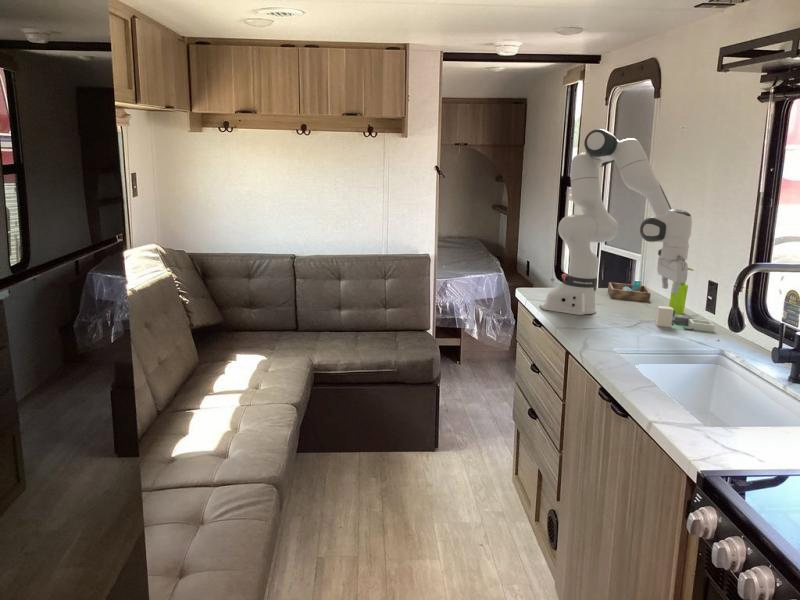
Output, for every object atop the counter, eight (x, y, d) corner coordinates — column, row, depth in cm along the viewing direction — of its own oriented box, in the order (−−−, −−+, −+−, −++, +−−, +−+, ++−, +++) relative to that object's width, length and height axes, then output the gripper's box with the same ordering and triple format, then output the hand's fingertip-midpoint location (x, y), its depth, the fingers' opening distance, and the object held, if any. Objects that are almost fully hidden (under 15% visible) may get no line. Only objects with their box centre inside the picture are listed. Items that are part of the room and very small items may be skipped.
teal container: (648, 300, 292) (650, 283, 290) (621, 298, 292) (624, 281, 290) (639, 294, 304) (642, 278, 302) (613, 293, 304) (616, 276, 302)
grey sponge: (671, 324, 245) (672, 318, 244) (667, 319, 253) (668, 313, 252) (690, 326, 243) (691, 320, 243) (686, 321, 251) (687, 315, 251)
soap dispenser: (687, 317, 263) (695, 269, 258) (669, 316, 264) (677, 268, 259) (683, 314, 268) (691, 267, 264) (666, 312, 269) (673, 265, 265)
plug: (656, 328, 243) (659, 308, 241) (654, 325, 247) (657, 305, 245) (672, 330, 242) (675, 309, 240) (670, 327, 245) (673, 307, 244)
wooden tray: (610, 297, 292) (612, 289, 291) (607, 290, 307) (608, 282, 306) (649, 301, 288) (650, 293, 287) (644, 294, 304) (645, 285, 303)
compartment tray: (674, 332, 239) (676, 322, 238) (667, 322, 253) (669, 313, 252) (715, 336, 236) (716, 327, 235) (705, 326, 250) (707, 317, 249)
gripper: (694, 258, 227) (688, 297, 230) (673, 250, 247) (668, 286, 250) (676, 257, 227) (671, 295, 230) (656, 249, 247) (651, 285, 250)
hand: (669, 290), depth 240 cm, fingers open, 8 cm apart
